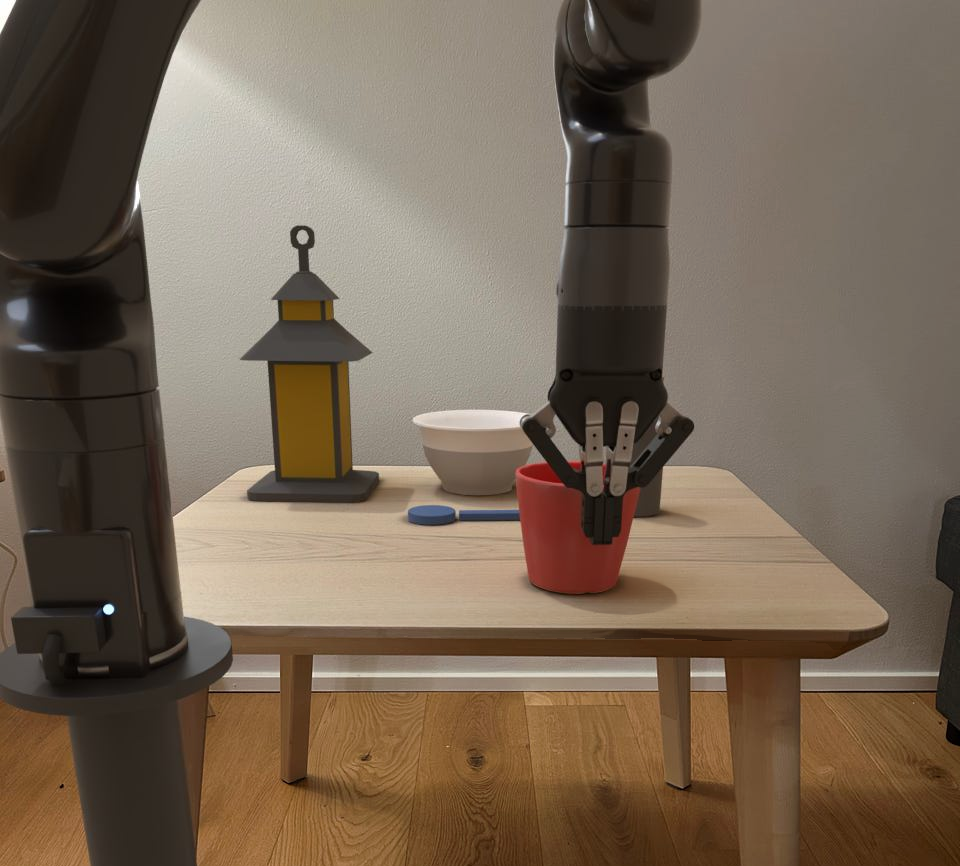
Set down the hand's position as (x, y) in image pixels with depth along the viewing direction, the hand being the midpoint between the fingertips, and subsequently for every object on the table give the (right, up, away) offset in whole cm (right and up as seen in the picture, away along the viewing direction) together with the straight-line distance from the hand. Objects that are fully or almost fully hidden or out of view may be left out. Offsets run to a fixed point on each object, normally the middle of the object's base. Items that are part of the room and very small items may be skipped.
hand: (600, 542), depth 73 cm
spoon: (-8, +6, +33) cm, 35 cm away
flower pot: (-1, -2, +12) cm, 13 cm away
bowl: (-9, +11, +48) cm, 51 cm away
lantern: (-29, +11, +47) cm, 57 cm away
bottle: (+8, +7, +37) cm, 39 cm away
